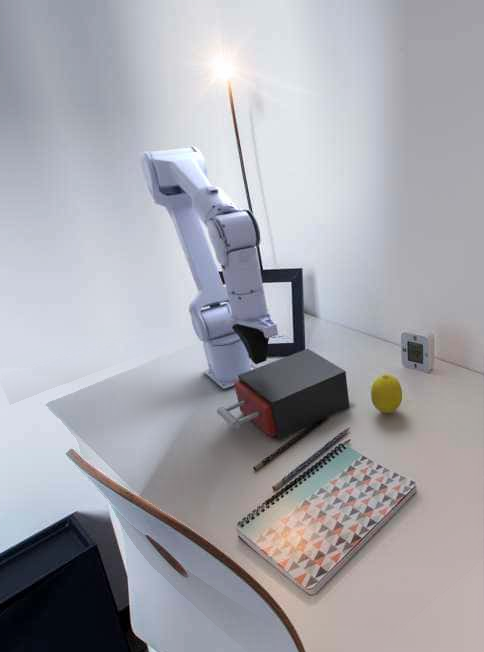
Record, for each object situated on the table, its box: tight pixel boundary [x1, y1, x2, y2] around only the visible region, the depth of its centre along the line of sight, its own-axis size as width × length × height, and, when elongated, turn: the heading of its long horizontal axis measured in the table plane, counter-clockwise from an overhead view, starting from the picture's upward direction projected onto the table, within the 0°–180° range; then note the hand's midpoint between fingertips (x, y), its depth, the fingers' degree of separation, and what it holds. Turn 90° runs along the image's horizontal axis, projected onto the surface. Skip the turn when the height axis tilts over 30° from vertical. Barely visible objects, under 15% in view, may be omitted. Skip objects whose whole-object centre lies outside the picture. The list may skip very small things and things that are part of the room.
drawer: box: [216, 381, 277, 438], centre depth 94 cm, size 18×11×6 cm, turn 132°
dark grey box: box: [238, 348, 350, 440], centre depth 96 cm, size 15×13×8 cm
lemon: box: [370, 373, 403, 415], centre depth 94 cm, size 6×6×8 cm
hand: (259, 361), depth 93 cm, fingers closed
